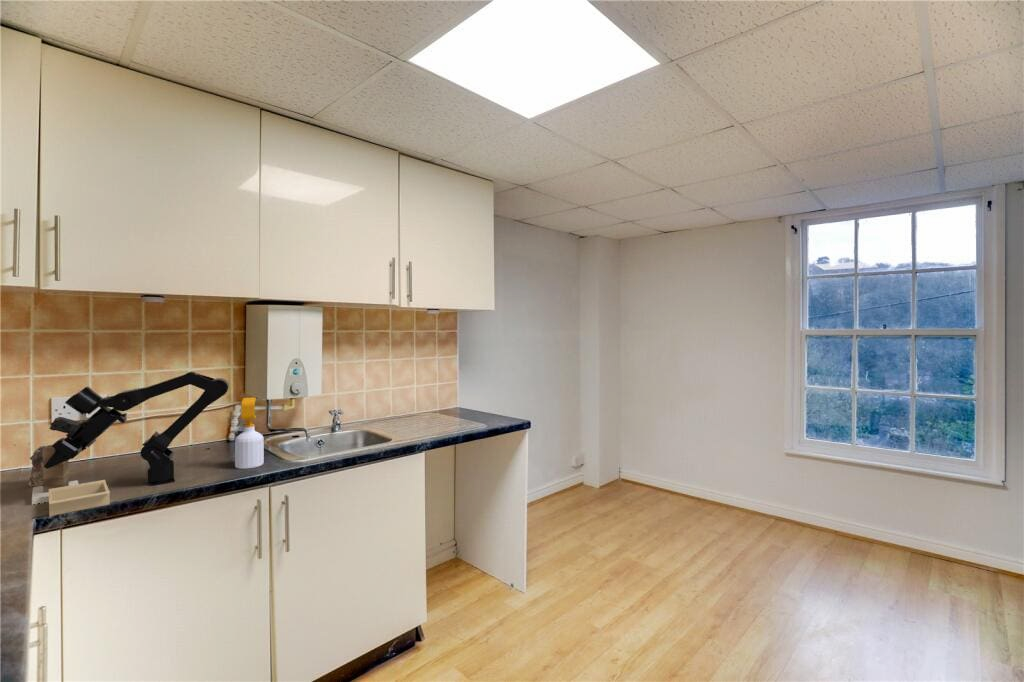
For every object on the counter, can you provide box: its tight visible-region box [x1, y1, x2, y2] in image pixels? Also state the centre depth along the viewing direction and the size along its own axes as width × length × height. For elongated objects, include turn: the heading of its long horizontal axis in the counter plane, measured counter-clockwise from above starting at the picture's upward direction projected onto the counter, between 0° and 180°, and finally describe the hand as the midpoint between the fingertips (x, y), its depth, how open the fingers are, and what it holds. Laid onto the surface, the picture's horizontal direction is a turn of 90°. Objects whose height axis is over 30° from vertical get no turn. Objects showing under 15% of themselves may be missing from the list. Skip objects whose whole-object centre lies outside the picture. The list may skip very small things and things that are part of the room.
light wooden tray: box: [48, 479, 111, 517], centre depth 133 cm, size 12×15×4 cm
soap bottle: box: [234, 397, 265, 470], centre depth 171 cm, size 9×9×25 cm
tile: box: [31, 479, 80, 506], centre depth 141 cm, size 10×14×2 cm
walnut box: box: [43, 444, 70, 493], centre depth 141 cm, size 4×4×13 cm
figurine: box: [28, 445, 47, 487], centre depth 151 cm, size 7×7×12 cm
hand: (49, 464), depth 140 cm, fingers open, 6 cm apart
